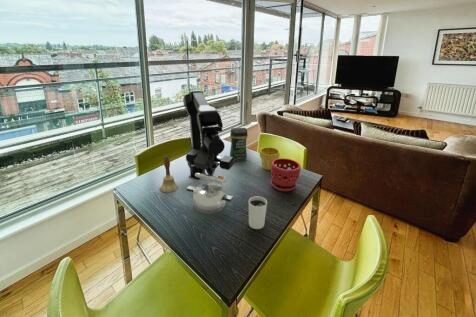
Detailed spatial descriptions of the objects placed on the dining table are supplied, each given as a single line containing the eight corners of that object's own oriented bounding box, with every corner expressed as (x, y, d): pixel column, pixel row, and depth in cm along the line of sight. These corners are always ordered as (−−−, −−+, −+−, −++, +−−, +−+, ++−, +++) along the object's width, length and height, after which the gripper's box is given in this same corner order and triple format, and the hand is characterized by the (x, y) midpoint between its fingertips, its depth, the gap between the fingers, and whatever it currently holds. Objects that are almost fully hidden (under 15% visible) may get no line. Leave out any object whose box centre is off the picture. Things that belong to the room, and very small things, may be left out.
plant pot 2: (292, 196, 112) (295, 172, 107) (265, 188, 118) (267, 165, 113) (301, 183, 122) (304, 161, 117) (275, 176, 128) (277, 155, 123)
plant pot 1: (277, 172, 132) (279, 155, 128) (257, 170, 134) (258, 153, 130) (278, 164, 141) (280, 148, 137) (260, 162, 143) (261, 146, 139)
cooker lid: (189, 173, 99) (190, 167, 99) (202, 180, 111) (204, 174, 111) (219, 180, 94) (221, 173, 95) (230, 186, 106) (232, 180, 107)
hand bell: (182, 185, 119) (179, 154, 112) (170, 194, 112) (167, 161, 105) (168, 181, 122) (164, 150, 115) (156, 189, 115) (151, 157, 108)
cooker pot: (180, 206, 104) (179, 194, 101) (197, 190, 115) (196, 178, 113) (224, 219, 97) (224, 206, 94) (238, 200, 108) (238, 188, 106)
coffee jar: (231, 162, 142) (231, 130, 134) (228, 156, 149) (228, 126, 141) (248, 161, 144) (249, 130, 136) (244, 155, 151) (245, 125, 143)
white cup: (245, 227, 93) (246, 204, 89) (250, 216, 99) (252, 194, 95) (262, 231, 91) (264, 208, 87) (267, 220, 97) (269, 198, 92)
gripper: (175, 147, 92) (180, 183, 100) (222, 156, 86) (224, 193, 94) (191, 135, 101) (194, 169, 109) (235, 143, 95) (235, 178, 103)
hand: (211, 177), depth 103 cm, fingers closed, pressing on cooker lid
